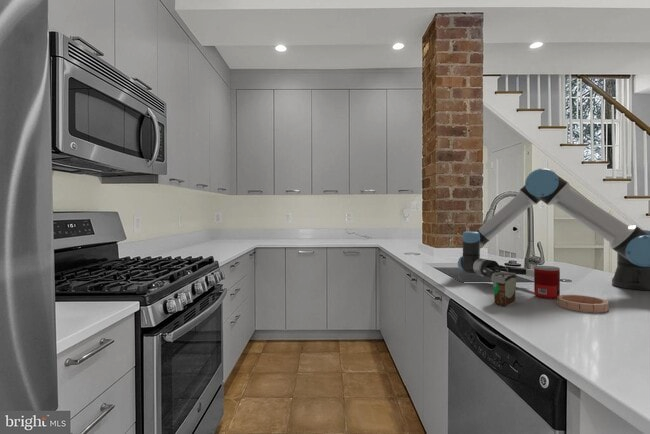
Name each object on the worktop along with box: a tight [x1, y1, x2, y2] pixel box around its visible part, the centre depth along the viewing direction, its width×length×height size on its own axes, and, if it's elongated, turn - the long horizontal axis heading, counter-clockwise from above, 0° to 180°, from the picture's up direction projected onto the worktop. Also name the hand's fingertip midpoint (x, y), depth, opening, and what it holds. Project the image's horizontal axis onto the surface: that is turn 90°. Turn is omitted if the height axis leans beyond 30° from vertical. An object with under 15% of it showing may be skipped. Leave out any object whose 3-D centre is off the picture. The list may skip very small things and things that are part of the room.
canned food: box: [533, 265, 561, 300], centre depth 131 cm, size 8×8×11 cm
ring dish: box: [556, 294, 610, 313], centre depth 118 cm, size 13×13×2 cm
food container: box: [490, 272, 518, 308], centre depth 124 cm, size 12×6×10 cm, turn 134°
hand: (527, 276), depth 139 cm, fingers open, 13 cm apart
